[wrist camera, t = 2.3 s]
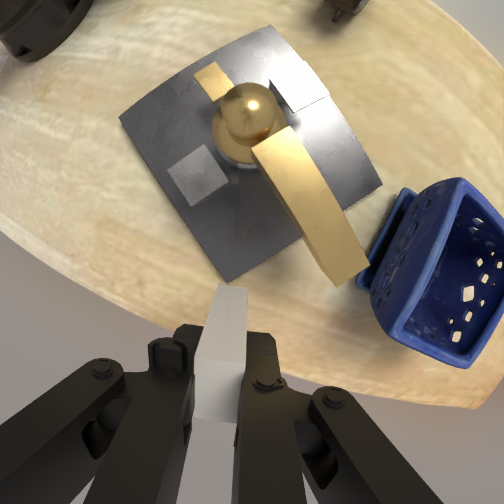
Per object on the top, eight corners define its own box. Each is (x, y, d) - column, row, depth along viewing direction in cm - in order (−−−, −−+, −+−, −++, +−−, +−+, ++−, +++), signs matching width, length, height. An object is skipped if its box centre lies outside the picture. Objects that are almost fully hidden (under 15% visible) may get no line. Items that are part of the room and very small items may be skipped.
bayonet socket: (124, 120, 24) (89, 103, 17) (269, 31, 22) (275, -7, 15) (228, 278, 28) (221, 308, 21) (376, 184, 26) (413, 185, 18)
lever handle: (178, 90, 19) (152, 55, 12) (233, 57, 18) (227, 13, 11) (297, 267, 22) (316, 300, 15) (350, 233, 21) (388, 252, 15)
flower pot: (335, 284, 28) (383, 342, 16) (390, 173, 25) (466, 171, 14) (415, 323, 29) (468, 374, 18) (462, 231, 27) (530, 252, 15)
